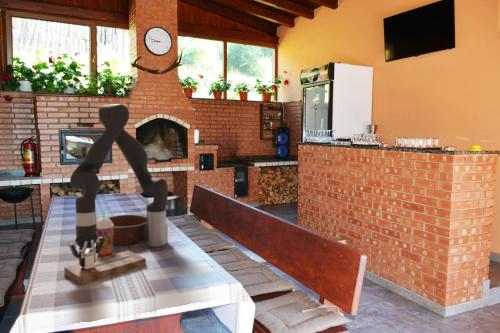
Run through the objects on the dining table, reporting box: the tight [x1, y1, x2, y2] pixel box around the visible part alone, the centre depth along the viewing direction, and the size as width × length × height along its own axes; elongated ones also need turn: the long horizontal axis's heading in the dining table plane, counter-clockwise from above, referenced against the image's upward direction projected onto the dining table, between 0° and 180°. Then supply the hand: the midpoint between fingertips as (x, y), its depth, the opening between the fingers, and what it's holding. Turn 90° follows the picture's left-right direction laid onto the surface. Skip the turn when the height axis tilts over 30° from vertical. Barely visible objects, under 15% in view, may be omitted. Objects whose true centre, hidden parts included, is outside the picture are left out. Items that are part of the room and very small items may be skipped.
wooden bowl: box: [106, 214, 147, 247], centre depth 198 cm, size 25×25×10 cm
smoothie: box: [95, 211, 114, 258], centre depth 176 cm, size 8×8×20 cm
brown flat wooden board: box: [64, 250, 147, 286], centre depth 159 cm, size 28×14×3 cm, turn 138°
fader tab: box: [83, 249, 96, 269], centre depth 153 cm, size 3×5×6 cm, turn 48°
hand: (87, 265), depth 153 cm, fingers closed on fader tab, 3 cm apart
